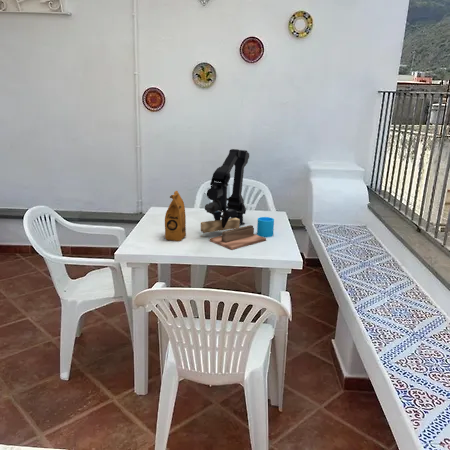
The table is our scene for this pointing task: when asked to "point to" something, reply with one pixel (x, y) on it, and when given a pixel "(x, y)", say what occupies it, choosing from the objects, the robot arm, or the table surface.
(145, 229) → the table surface
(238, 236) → the fulcrum stand
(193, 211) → the table surface
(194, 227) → the table surface
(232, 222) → the oak bar
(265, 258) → the table surface
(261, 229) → the mug
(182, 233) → the coffee package
